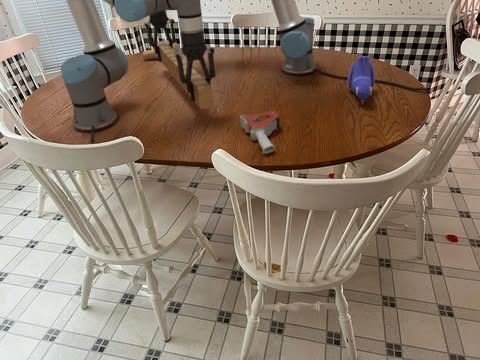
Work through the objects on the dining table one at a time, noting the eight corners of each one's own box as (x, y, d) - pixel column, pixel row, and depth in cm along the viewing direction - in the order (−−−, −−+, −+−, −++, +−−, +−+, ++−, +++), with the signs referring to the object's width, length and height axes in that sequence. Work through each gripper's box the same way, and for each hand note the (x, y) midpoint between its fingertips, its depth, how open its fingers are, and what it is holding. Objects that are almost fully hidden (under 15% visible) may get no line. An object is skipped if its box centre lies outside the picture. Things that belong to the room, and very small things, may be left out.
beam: (213, 106, 123) (211, 86, 119) (200, 109, 122) (198, 88, 117) (167, 56, 173) (164, 40, 169) (157, 57, 172) (154, 42, 168)
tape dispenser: (269, 161, 108) (297, 129, 121) (269, 147, 105) (298, 115, 117) (221, 145, 116) (252, 116, 128) (220, 131, 112) (252, 103, 125)
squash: (180, 60, 189) (175, 44, 182) (144, 67, 191) (138, 52, 184) (182, 51, 196) (177, 35, 190) (147, 58, 198) (141, 42, 192)
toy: (345, 95, 151) (349, 109, 128) (348, 53, 144) (352, 60, 122) (370, 95, 149) (378, 108, 126) (374, 52, 142) (383, 59, 120)
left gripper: (213, 24, 119) (219, 90, 133) (161, 32, 114) (173, 100, 128) (221, 28, 113) (227, 97, 127) (167, 37, 108) (179, 108, 122)
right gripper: (174, 1, 159) (181, 54, 172) (134, 6, 153) (145, 60, 167) (178, 4, 153) (186, 58, 167) (137, 9, 148) (148, 65, 161)
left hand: (200, 98), depth 127 cm, fingers closed on beam, 5 cm apart
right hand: (165, 59), depth 167 cm, fingers closed on beam, 5 cm apart
